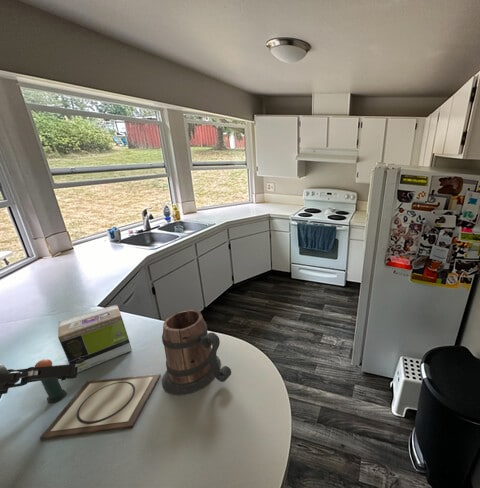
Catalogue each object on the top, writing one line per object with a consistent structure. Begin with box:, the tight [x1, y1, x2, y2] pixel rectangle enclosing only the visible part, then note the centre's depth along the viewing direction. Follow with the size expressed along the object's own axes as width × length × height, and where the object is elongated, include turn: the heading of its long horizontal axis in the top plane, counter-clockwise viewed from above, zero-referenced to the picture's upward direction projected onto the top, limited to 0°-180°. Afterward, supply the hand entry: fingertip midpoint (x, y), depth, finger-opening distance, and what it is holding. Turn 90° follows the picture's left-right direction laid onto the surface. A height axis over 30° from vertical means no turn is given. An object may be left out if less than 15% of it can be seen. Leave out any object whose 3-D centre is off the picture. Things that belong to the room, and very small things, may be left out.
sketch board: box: [39, 373, 161, 441], centre depth 69 cm, size 20×16×1 cm
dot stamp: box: [34, 358, 67, 404], centre depth 68 cm, size 4×4×13 cm
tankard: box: [161, 309, 232, 396], centre depth 76 cm, size 24×17×20 cm
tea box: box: [57, 304, 133, 374], centre depth 83 cm, size 15×10×15 cm
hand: (42, 379), depth 65 cm, fingers open, 13 cm apart
